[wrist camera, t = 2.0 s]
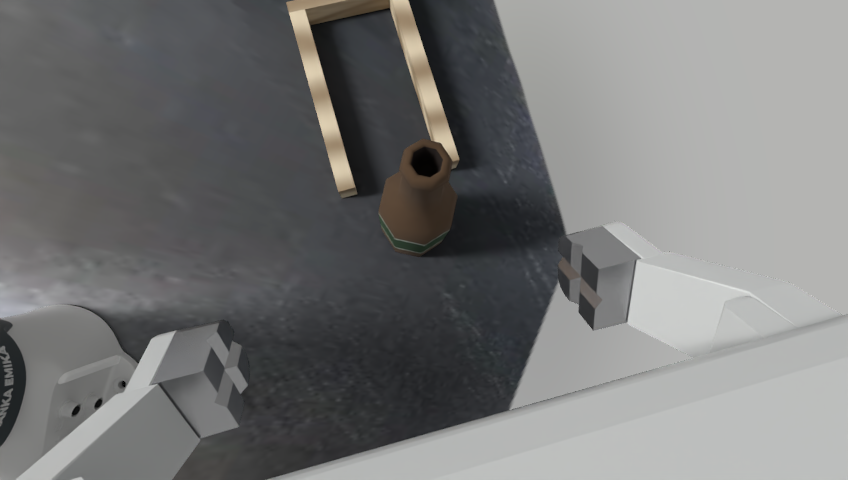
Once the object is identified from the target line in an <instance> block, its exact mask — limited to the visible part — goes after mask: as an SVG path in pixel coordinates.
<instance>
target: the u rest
mask: <svg viewBox="0 0 848 480" xmlns="http://www.w3.org/2000/svg"><path fill="white" fill-rule="evenodd" d="M286 3H287V7H288V10H289V14H290V18H291V21H292V25H293V29H294V32H295V36H296V39H297V43H298V47H299V50H300V54H301V58H302V61H303V65H304V68H305V72H306V76H307V79H308V83H309V87H310V90H311V94H312V97H313V101H314V105H315V108H316V112H317V116H318V119H319V123H320V127H321V130H322V134H323V137H324V141H325V145H326V148H327V152H328V156H329V159H330V163H331V166H332V170H333V174H334V177H335V181H336V185H337V188H338V192H339V194H340V196H341V198H345V197H349V196H352V195H356V194H357V191H356V187H355V184H354V180H353V177H352V173H351V170H350V166H349V162H348V159H347V155H346V152H345V148H344V145H343V141H342V138H341V134H340V131H339V127H338V123H337V120H336V116H335V113H334V109H333V106H332V102H331V99H330V95H329V92H328V88H327V84H326V81H325V77H324V74H323V70H322V67H321V63H320V60H319V56H318V52H317V49H316V45H315V42H314V38H313V35H312V31H311V28H310V25H313V24H318V23H323V22H327V21H332V20H336V19H341V18H345V17H350V16H354V15H359V14H364V13H368V12H373V11H377V10H382V9H386V8H390V10H391V13H392V16H393V20H394V23H395V26H396V29H397V32H398V36H399V39H400V42H401V45H402V48H403V52H404V55H405V58H406V61H407V64H408V67H409V71H410V74H411V77H412V80H413V83H414V87H415V90H416V93H417V96H418V99H419V103H420V106H421V109H422V112H423V115H424V119H425V122H426V125H427V128H428V131H429V135H430V138H431V141H435V142H439V143H441V144H442V145H443V147H444V148H445V150H446V151H447V153H448V154H449V156H450V157H451V159H452V161H453V164H452V168H451V169H453V168H456V167H457V164H458V162H459V157H458V153H457V150H456V147H455V144H454V141H453V138H452V135H451V132H450V129H449V125H448V122H447V119H446V116H445V113H444V110H443V107H442V104H441V100H440V97H439V94H438V91H437V88H436V85H435V82H434V79H433V76H432V72H431V69H430V66H429V63H428V60H427V57H426V54H425V51H424V48H423V44H422V41H421V38H420V35H419V32H418V29H417V26H416V23H415V19H414V16H413V13H412V10H411V7H410V4H409V1H408V0H294V1H290V2H286Z"/></svg>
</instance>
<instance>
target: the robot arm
mask: <svg viewBox="0 0 848 480" xmlns="http://www.w3.org/2000/svg"><path fill="white" fill-rule="evenodd" d="M558 252H559V253H560V254H561V255H562V256H563V258H562V260H561V261H560V263H559V264H558V279H559V283H560V287H561V288H562V291H563V292H564V294H565V296H566V297H567V298H568V300H569V301H572V302H574V303H577V304H579V313H580V315H581V316H582V317H583V318H584V320H586V322H587V323H588V324H589V326H590V327H591V328H592V329H593V330H598V329H602V328H606V327H610V326H614V325H618V324H622V323H626V322H627V324H628V325H631V326H632V327H634V328H636V329H638V330H640V331H642V332H644V333H646V334H648V335H650V336H652V337H654V338H655V339H657V340H660V341H662V342H663V343H665V344H667V345H669V346H671V347H673V348H675V349H677V350H679V351H681V352H683V353H685V354H687V355H689V356H691V357H693V358H691V359H688V360H684V361H681V362H677V363H674V364H670V365H667V366H663V367H660V368H656V369H653V370H649V371H646V372H642V373H639V374H635V375H632V376H628V377H625V378H621V379H618V380H614V381H611V382H607V383H604V384H601V385H597V386H593V387H590V388H586V389H582V390H579V391H575V392H572V393H568V394H565V395H562V396H558V397H554V398H551V399H547V400H544V401H540V402H537V403H533V404H530V405H526V406H523V407H519V408H516V409H512V410H509V411H505V412H502V413H498V414H495V415H491V416H488V417H484V418H481V419H477V420H474V421H470V422H466V423H463V424H459V425H456V426H452V427H449V428H445V429H442V430H438V431H435V432H431V433H428V434H424V435H421V436H417V437H414V438H410V439H407V440H403V441H400V442H396V443H393V444H389V445H386V446H382V447H379V448H375V449H372V450H368V451H365V452H361V453H358V454H354V455H351V456H347V457H344V458H340V459H337V460H333V461H330V462H326V463H323V464H319V465H316V466H312V467H309V468H305V469H302V470H298V471H295V472H291V473H288V474H284V475H281V476H277V477H274V478H270V479H267V480H848V314H846V315H842V314H840V313H839V312H837V311H835V310H834V309H832V308H830V307H829V306H827V305H826V304H824V303H823V302H821V301H819V300H817V299H816V298H814V297H813V296H811V295H810V294H808V293H806V292H805V291H803V290H801V289H800V288H798V287H797V286H795V285H793V284H792V283H790V282H787V281H783V280H779V279H775V278H771V277H767V276H764V275H760V274H755V273H752V272H748V271H744V270H740V269H736V268H732V267H728V266H724V265H720V264H716V263H712V262H708V261H704V260H701V259H696V258H693V257H689V256H685V255H681V254H676V253H673V252H666V253H663V252H661V251H660V250H659V249H657V248H656V247H655V246H653V245H652V244H651V243H650V242H648V241H647V240H645V239H644V238H643V237H642V236H640V235H639V234H637V233H636V232H635V231H634V230H632V229H631V228H630V227H628V226H627V225H626V224H624V223H623V222H620V221H615V222H612V223H608V224H605V225H601V226H598V227H596V228H592V229H589V230H584V231H580V232H576V233H573V234H569V235H565V236H561V237H560V239H559V241H558ZM233 336H234V330H233V329H232V327H231V326H230V324H229V322H227V321H225V320H220V321H216V322H211V323H207V324H202V325H198V326H193V327H189V328H185V329H180V330H176V331H172V332H168V333H164V334H160V335H157V336H155V337H154V338H152V339H151V341H150V343H149V345H148V347H147V348H146V350H145V352H144V354H143V356H142V358H141V360H140V362H139V364H138V363H137V362H136V361H135V360H134V359H133V358H131V357H130V356H129V355H128V354H126V353H125V352H124V351H123V350H122V348H121V347H120V345H119V343H118V341H117V339H116V337H115V335H114V333H113V331H112V330H111V328H110V327H109V326H108V325H107V324H106V323H105V321H104V320H102V319H101V318H100V317H99V316H97V315H96V314H94V313H93V312H91V311H89V310H86V309H84V308H81V307H77V306H72V305H50V306H45V307H41V308H38V309H35V310H33V311H30V312H27V313H24V314H20V315H15V316H10V317H4V318H0V480H172V479H173V477H174V476H175V475H176V473H177V472H178V471H179V469H180V468H181V466H182V465H183V464H184V462H185V461H186V460H187V458H188V457H189V455H190V454H191V453H192V451H193V450H194V449H195V447H196V446H197V444H198V443H199V442H200V438H203V437H207V436H210V435H213V434H217V433H220V432H223V431H227V430H230V429H233V428H237V427H239V426H240V421H241V416H242V412H243V407H244V402H245V401H244V399H243V398H242V396H241V393H242V391H243V390H244V389H245V388H246V387H247V386H248V382H249V376H250V371H249V361H248V358H247V355H246V352H245V350H244V349H243V347H242V346H241V345H239V344H237V343H235V342H233V341H232V340H233ZM123 381H125V382H126V386H125V387H123V386H122V382H123Z"/></svg>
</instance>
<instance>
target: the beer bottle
mask: <svg viewBox="0 0 848 480" xmlns="http://www.w3.org/2000/svg"><path fill="white" fill-rule="evenodd" d="M452 164H453V161H452V159H451V157H450V156H449V154H448V153H447V151H446V150H445V148H444V147H443V145H442V144H441V143H439V142H435V141H430V140H426V139H421V140H420V141H418V142H416V143H414V144H413V145H411V146H409V147H408V148H406V149H405V150H404V151H403V156H402V160H401V164H400V168H399V171H400V172H398V173H396V174H395V175H393V176H391V177H390V178H388V179H386V182H385V186H384V191H383V195H382V199H381V203H380V207H379V218H380V223H381V228H382V231H383V232H384V234H385V236H386V237H387V239H388V240H389V242H390V243H391V245H392V247H393V248H394V250H395V251H396V252H399V253H403V254H408V255H412V256H417V257H420V256H421V255H423V254H425V253H426V252H428V251H429V250H431V249H432V248H434V247H436V246H437V245H439V244H440V243H441V242H442V241H443V239H444V238H445V236H446V235H447V233H448V232H449V230H450V228H451V225H452V220H453V215H454V210H455V206H456V201H457V194H456V193H455V191H454V190H453V188H452V187H451V185H450V184H449V177H450V173H451V168H452Z"/></svg>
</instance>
